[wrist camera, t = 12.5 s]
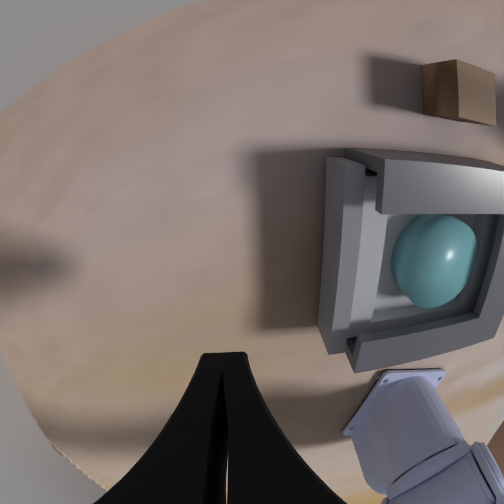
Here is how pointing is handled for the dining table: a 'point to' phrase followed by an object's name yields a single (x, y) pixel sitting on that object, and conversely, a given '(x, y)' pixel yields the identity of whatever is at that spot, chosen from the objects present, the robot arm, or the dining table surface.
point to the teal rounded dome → (433, 259)
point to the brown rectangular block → (459, 92)
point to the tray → (377, 261)
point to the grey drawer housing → (434, 202)
